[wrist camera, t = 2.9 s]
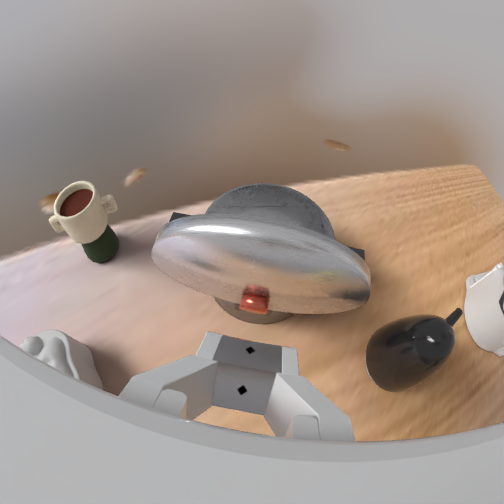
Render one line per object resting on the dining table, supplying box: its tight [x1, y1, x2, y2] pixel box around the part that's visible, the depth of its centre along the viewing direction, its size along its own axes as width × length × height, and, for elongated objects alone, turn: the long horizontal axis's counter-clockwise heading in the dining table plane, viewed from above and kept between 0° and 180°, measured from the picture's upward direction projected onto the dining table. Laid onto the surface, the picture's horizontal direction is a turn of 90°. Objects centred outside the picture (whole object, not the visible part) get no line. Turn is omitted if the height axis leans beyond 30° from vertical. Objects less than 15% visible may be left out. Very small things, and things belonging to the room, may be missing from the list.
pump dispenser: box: [365, 308, 463, 392], centre depth 31 cm, size 10×10×15 cm
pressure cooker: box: [169, 183, 365, 324], centre depth 39 cm, size 18×26×11 cm
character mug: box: [49, 181, 118, 263], centre depth 39 cm, size 11×7×13 cm, turn 113°
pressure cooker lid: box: [151, 214, 371, 314], centre depth 22 cm, size 16×16×3 cm
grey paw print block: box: [19, 330, 103, 390], centre depth 29 cm, size 10×13×9 cm
